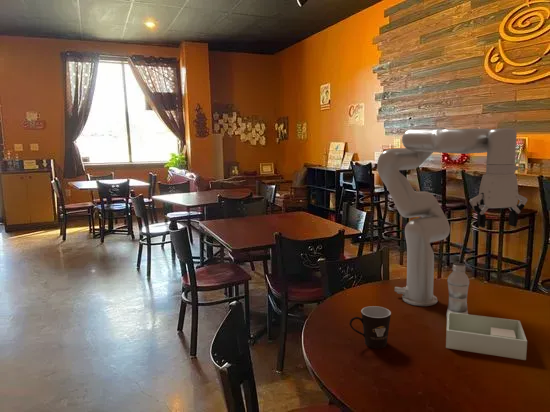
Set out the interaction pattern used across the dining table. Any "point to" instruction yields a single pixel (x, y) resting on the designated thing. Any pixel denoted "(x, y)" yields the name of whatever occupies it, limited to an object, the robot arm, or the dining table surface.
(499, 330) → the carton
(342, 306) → the dining table surface
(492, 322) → the crate
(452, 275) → the plastic bottle
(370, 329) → the coffee mug
